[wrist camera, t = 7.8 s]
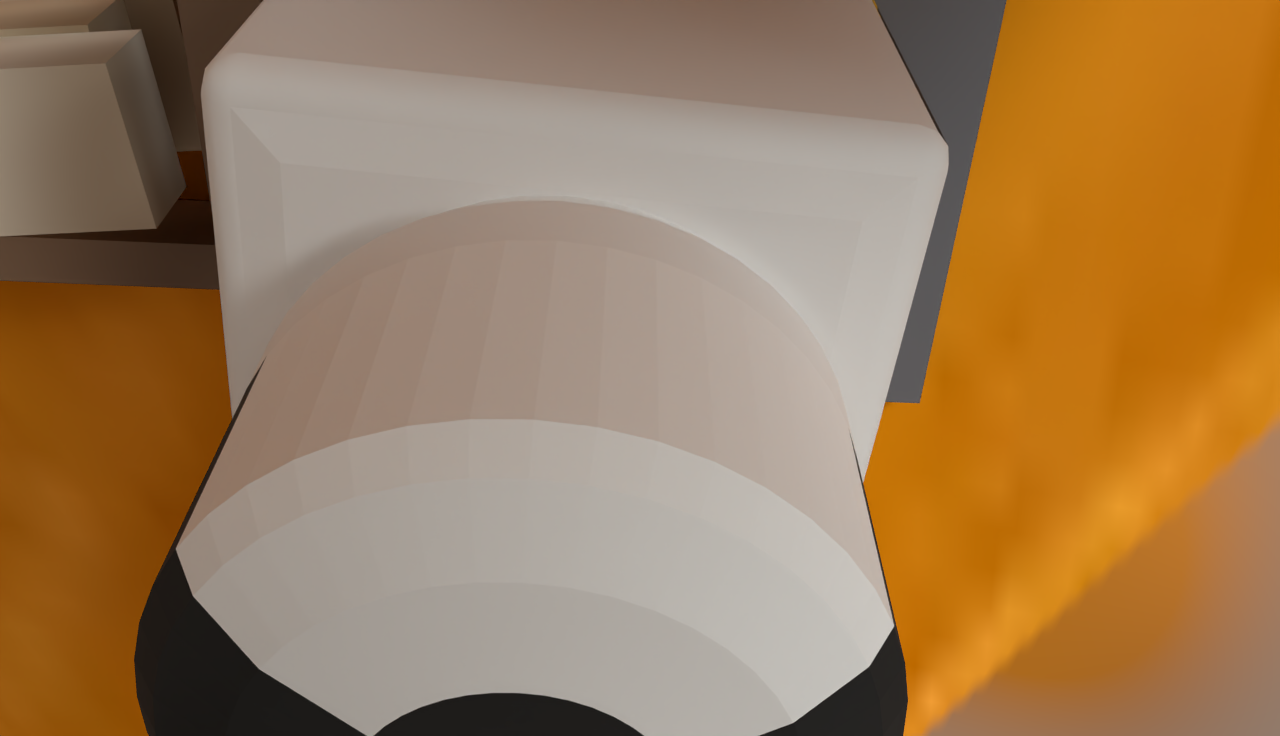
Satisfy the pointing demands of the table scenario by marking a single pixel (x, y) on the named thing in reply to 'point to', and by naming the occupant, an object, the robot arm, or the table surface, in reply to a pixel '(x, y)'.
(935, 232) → the rubber mat
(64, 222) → the offcut stack
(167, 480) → the table surface
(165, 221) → the walnut rack
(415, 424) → the medicine bottle
